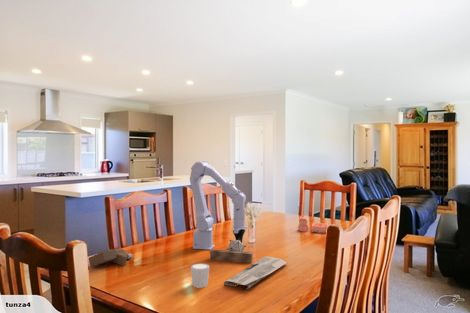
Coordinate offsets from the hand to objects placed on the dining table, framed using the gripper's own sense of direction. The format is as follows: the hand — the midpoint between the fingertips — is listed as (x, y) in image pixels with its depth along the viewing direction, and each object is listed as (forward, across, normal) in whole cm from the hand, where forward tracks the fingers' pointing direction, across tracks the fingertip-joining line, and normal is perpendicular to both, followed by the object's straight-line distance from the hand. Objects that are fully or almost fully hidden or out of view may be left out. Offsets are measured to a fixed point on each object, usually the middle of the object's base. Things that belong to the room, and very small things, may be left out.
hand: (239, 244), depth 170 cm
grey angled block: (+4, -33, +49) cm, 59 cm away
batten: (+3, -16, 0) cm, 16 cm away
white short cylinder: (+3, -46, +4) cm, 46 cm away
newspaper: (+4, -30, -15) cm, 34 cm away
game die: (+3, -9, -1) cm, 10 cm away
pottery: (+3, +52, -34) cm, 62 cm away
